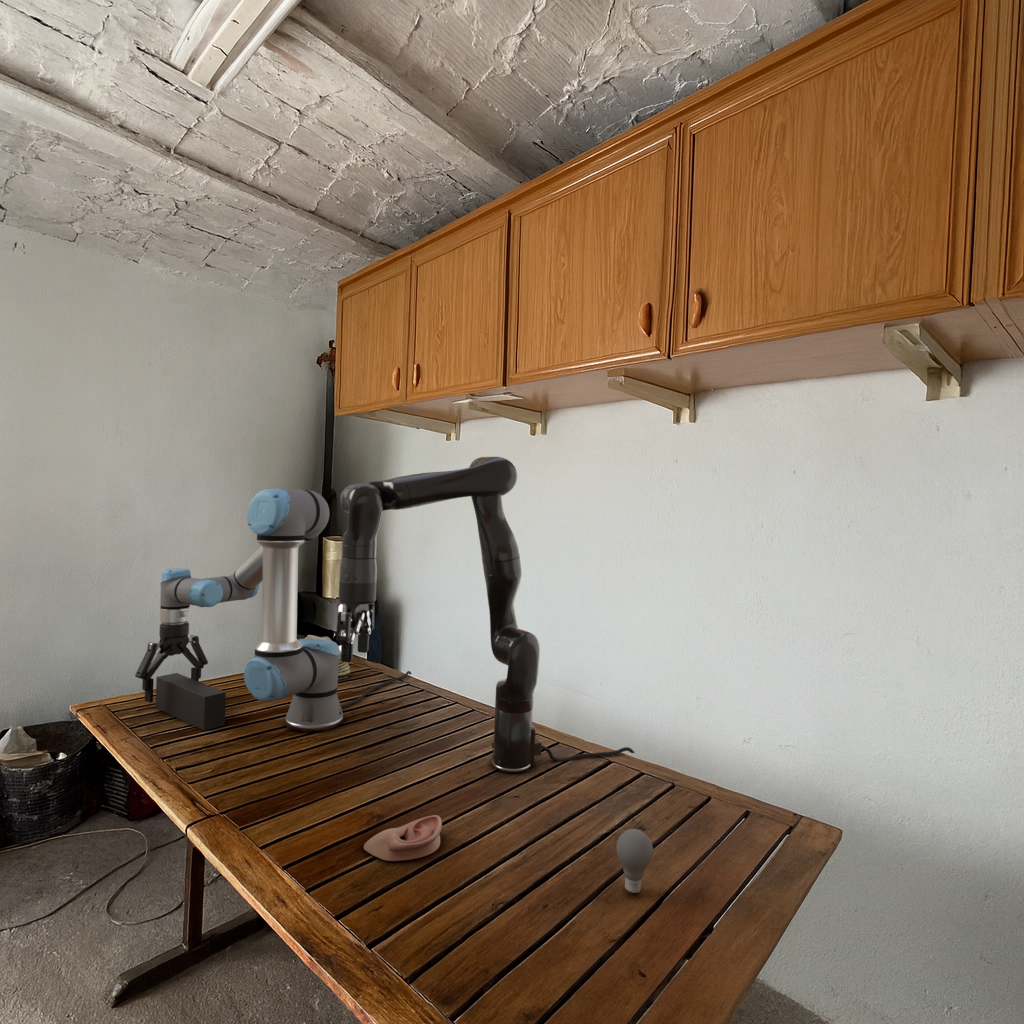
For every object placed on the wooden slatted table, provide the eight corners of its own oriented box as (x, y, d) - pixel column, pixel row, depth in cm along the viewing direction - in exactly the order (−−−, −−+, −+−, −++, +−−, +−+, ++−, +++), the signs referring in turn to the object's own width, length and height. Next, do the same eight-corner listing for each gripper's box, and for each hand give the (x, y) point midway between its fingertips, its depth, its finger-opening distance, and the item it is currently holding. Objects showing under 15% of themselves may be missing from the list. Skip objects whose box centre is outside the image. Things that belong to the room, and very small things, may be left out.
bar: (155, 707, 183) (156, 676, 183) (175, 703, 187) (176, 672, 187) (203, 730, 167) (204, 696, 167) (224, 725, 172) (226, 692, 172)
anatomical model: (356, 833, 112) (382, 804, 123) (355, 856, 112) (381, 824, 123) (428, 845, 109) (448, 813, 121) (427, 868, 109) (447, 834, 121)
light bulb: (610, 879, 108) (613, 822, 108) (644, 879, 109) (647, 822, 109) (619, 902, 102) (622, 840, 102) (655, 901, 103) (658, 840, 103)
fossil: (290, 679, 215) (292, 635, 215) (341, 671, 228) (342, 629, 227) (301, 686, 209) (303, 640, 208) (353, 677, 221) (354, 634, 221)
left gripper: (137, 630, 170) (135, 709, 170) (221, 618, 191) (219, 687, 192) (122, 627, 174) (120, 704, 174) (206, 615, 195) (204, 683, 196)
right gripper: (362, 584, 124) (358, 667, 124) (387, 576, 138) (384, 650, 138) (325, 582, 125) (322, 663, 125) (354, 574, 139) (351, 647, 139)
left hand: (172, 695), depth 183 cm, fingers open, 13 cm apart
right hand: (355, 656), depth 132 cm, fingers open, 8 cm apart
